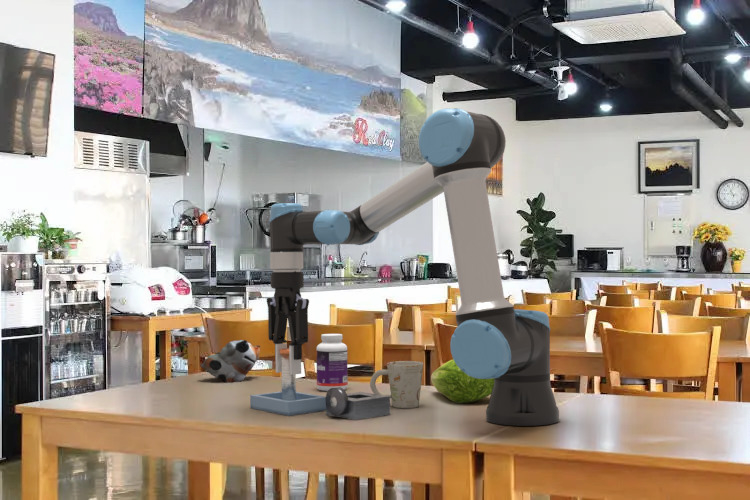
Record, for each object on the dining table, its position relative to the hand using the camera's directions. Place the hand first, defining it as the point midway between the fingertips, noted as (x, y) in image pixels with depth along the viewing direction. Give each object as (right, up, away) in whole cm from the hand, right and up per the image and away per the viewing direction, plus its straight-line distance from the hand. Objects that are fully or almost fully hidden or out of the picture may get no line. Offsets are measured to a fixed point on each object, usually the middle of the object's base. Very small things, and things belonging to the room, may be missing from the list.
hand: (288, 372), depth 226 cm
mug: (+25, -8, +3) cm, 26 cm away
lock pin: (0, -8, 0) cm, 8 cm away
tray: (0, -8, 0) cm, 8 cm away
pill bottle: (+9, -9, +31) cm, 33 cm away
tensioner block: (+16, -8, -9) cm, 20 cm away
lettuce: (+40, -8, +14) cm, 43 cm away
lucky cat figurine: (-21, -9, +55) cm, 59 cm away
